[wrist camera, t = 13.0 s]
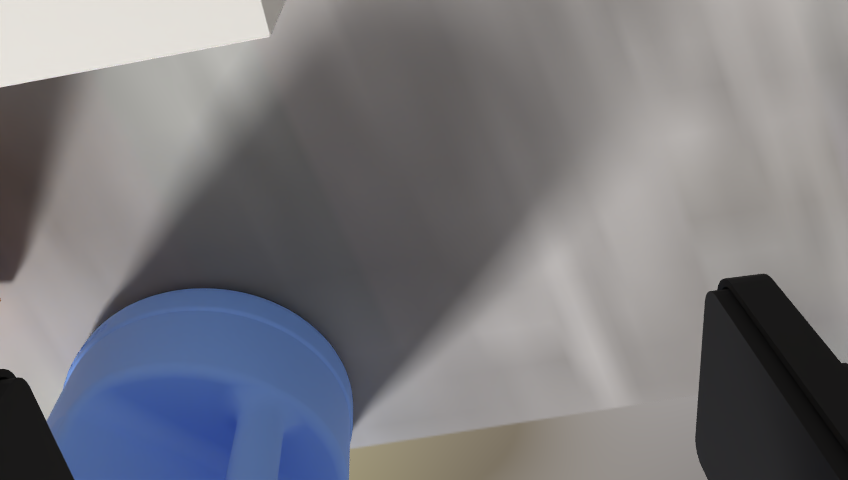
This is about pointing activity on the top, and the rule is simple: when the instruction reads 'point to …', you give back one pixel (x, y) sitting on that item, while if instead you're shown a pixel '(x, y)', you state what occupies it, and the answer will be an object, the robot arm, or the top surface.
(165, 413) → the water jug
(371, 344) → the top surface
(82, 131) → the top surface
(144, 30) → the blue base grey panel
